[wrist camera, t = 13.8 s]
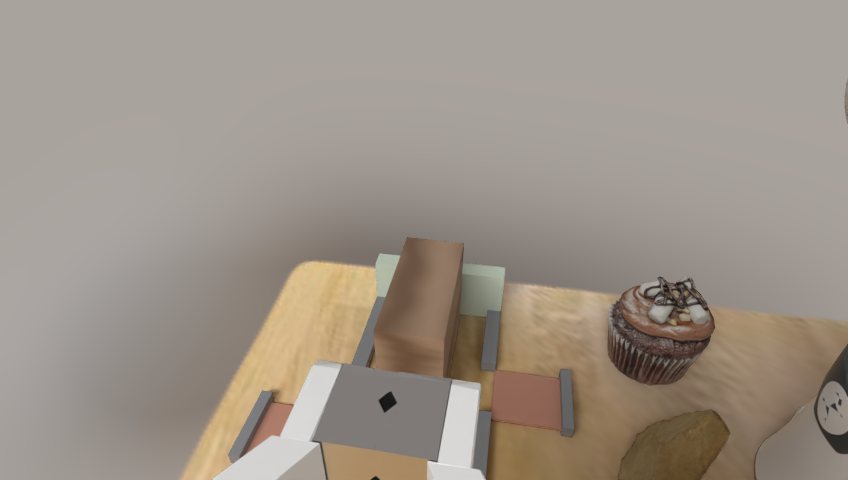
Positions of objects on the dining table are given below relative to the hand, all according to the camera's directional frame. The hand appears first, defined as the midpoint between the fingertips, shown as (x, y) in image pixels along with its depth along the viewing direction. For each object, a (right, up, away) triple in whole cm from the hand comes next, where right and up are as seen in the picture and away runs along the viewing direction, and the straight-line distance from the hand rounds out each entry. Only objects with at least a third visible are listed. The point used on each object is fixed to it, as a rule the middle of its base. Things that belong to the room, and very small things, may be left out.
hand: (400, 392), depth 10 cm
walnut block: (0, -10, +47) cm, 48 cm away
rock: (+18, -19, +35) cm, 44 cm away
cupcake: (+24, -10, +47) cm, 54 cm away
